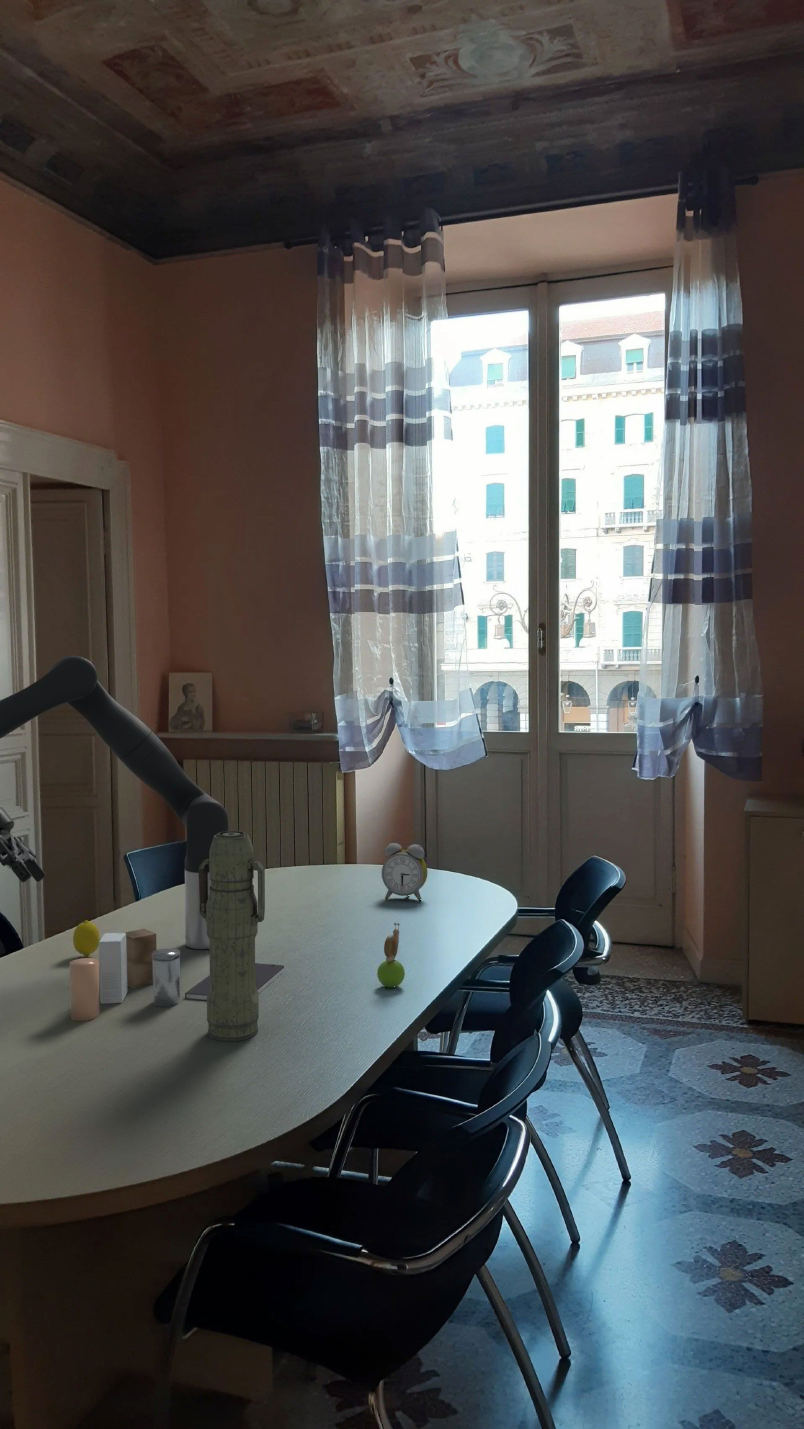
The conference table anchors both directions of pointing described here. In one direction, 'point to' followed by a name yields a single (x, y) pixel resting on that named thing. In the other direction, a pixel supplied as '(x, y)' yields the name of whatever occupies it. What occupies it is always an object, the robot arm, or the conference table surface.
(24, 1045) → the conference table surface
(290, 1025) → the conference table surface
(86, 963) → the peach rounded cylinder
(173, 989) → the grey tin
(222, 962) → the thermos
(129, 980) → the walnut block
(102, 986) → the skincare box
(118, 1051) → the conference table surface
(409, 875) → the alarm clock
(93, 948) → the lemon
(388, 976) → the snail figurine
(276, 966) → the notebook
